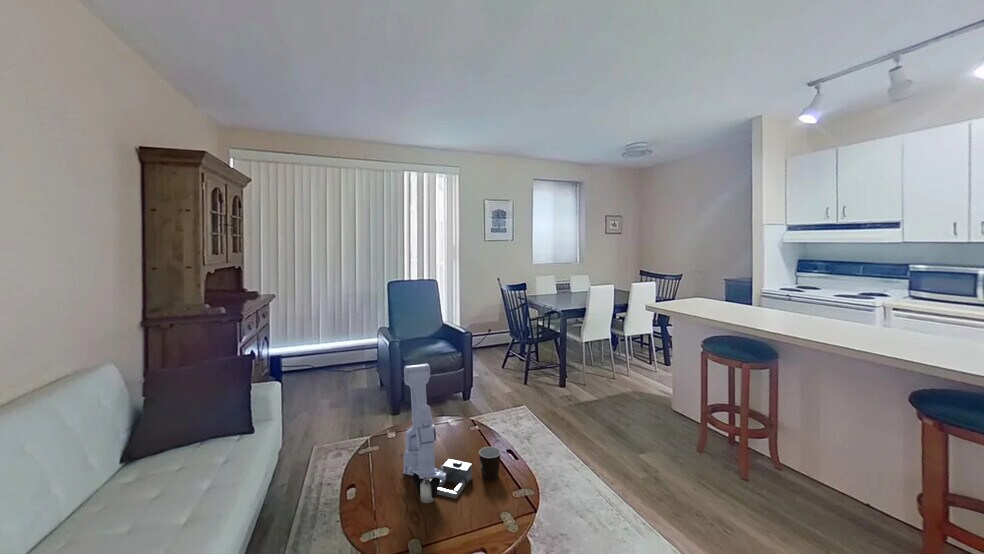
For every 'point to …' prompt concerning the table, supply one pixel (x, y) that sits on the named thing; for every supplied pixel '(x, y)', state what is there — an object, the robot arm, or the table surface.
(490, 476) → the coffee mug
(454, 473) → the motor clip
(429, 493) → the white bottle
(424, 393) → the robot arm
